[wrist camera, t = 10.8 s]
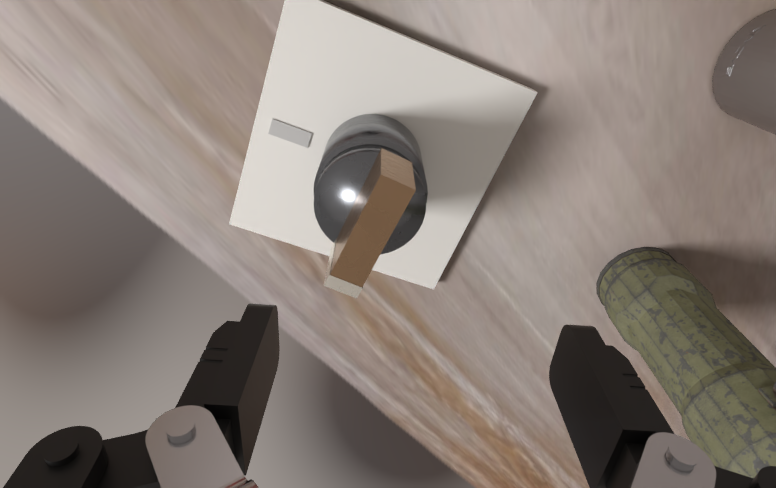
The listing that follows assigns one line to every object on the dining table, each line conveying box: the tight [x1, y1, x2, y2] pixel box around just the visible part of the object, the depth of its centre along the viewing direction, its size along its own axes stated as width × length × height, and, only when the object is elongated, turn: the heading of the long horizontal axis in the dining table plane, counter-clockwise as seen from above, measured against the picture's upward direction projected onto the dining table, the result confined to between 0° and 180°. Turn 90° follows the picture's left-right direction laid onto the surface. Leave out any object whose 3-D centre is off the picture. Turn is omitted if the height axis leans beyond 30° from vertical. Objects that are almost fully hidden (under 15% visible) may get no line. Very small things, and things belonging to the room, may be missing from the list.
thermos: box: [597, 247, 776, 478], centre depth 37 cm, size 9×12×35 cm
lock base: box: [229, 0, 538, 289], centre depth 41 cm, size 22×22×9 cm
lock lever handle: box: [314, 144, 426, 298], centre depth 34 cm, size 9×8×7 cm
